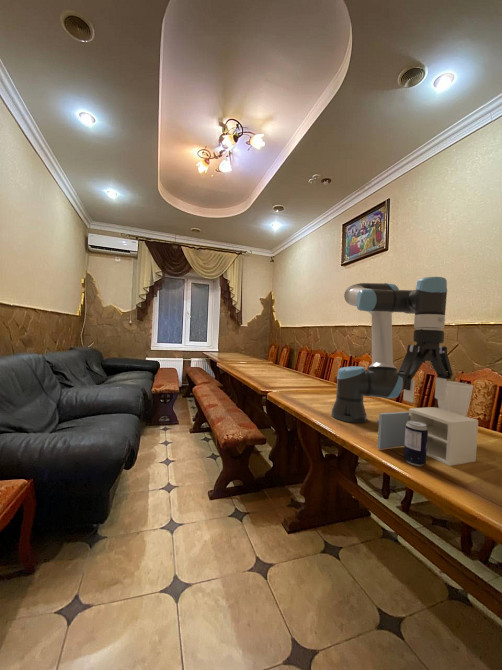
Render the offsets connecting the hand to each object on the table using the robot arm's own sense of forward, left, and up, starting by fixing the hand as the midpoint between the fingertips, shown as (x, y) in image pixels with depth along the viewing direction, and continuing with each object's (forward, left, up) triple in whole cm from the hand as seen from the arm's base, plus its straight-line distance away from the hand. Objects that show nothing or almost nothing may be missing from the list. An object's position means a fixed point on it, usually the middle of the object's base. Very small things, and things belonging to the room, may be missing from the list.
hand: (424, 400), depth 77 cm
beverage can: (-1, -2, -19) cm, 19 cm away
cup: (-11, +29, -19) cm, 37 cm away
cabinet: (-4, +13, -19) cm, 24 cm away
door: (-11, 0, -19) cm, 21 cm away
